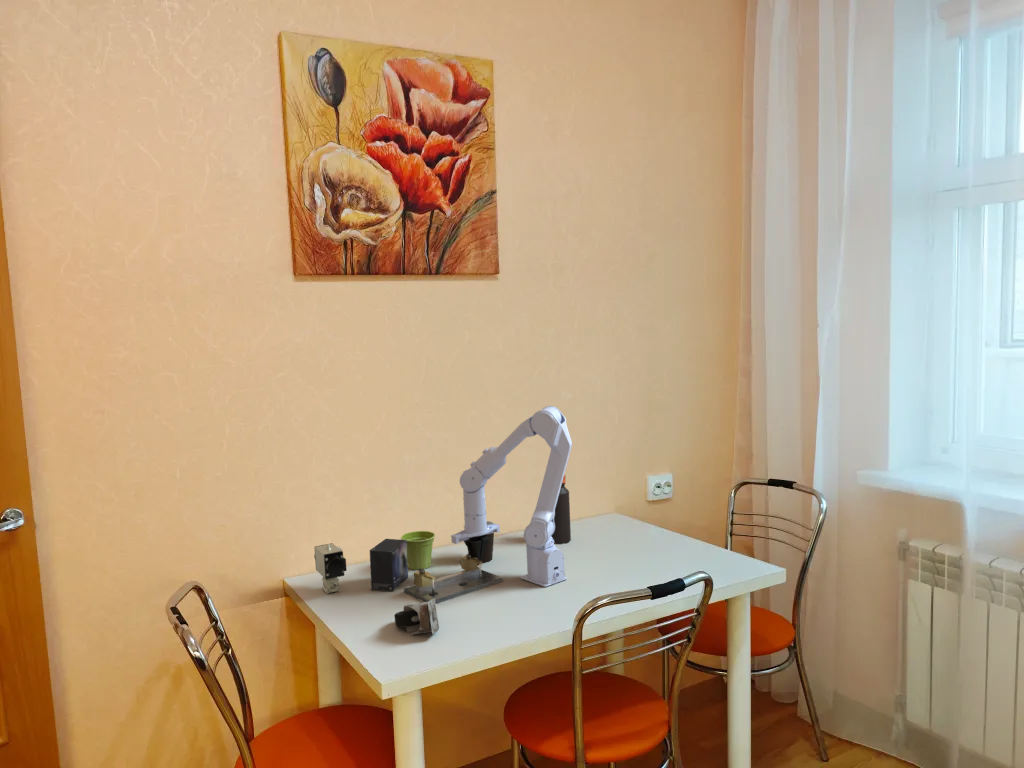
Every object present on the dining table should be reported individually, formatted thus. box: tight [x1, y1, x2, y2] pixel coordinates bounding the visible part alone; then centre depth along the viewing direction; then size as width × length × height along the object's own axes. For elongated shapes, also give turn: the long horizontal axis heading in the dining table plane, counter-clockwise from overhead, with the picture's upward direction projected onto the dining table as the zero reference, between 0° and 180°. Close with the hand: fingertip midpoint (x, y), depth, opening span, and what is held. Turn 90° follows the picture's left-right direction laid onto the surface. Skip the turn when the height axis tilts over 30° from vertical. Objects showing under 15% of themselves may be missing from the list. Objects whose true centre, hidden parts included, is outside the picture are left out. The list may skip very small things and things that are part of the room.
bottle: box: [551, 473, 572, 545], centre depth 221 cm, size 7×7×20 cm
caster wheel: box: [393, 598, 440, 636], centre depth 162 cm, size 7×11×10 cm
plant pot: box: [400, 530, 436, 571], centre depth 204 cm, size 9×9×9 cm
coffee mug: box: [463, 520, 496, 564], centre depth 209 cm, size 12×9×10 cm
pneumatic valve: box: [313, 543, 348, 595], centre depth 188 cm, size 6×12×12 cm, turn 30°
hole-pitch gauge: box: [403, 566, 504, 605], centre depth 187 cm, size 12×22×6 cm, turn 131°
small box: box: [369, 538, 409, 592], centre depth 191 cm, size 11×6×10 cm, turn 167°
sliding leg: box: [460, 553, 483, 577], centre depth 191 cm, size 7×3×5 cm, turn 41°
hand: (477, 564), depth 194 cm, fingers closed
